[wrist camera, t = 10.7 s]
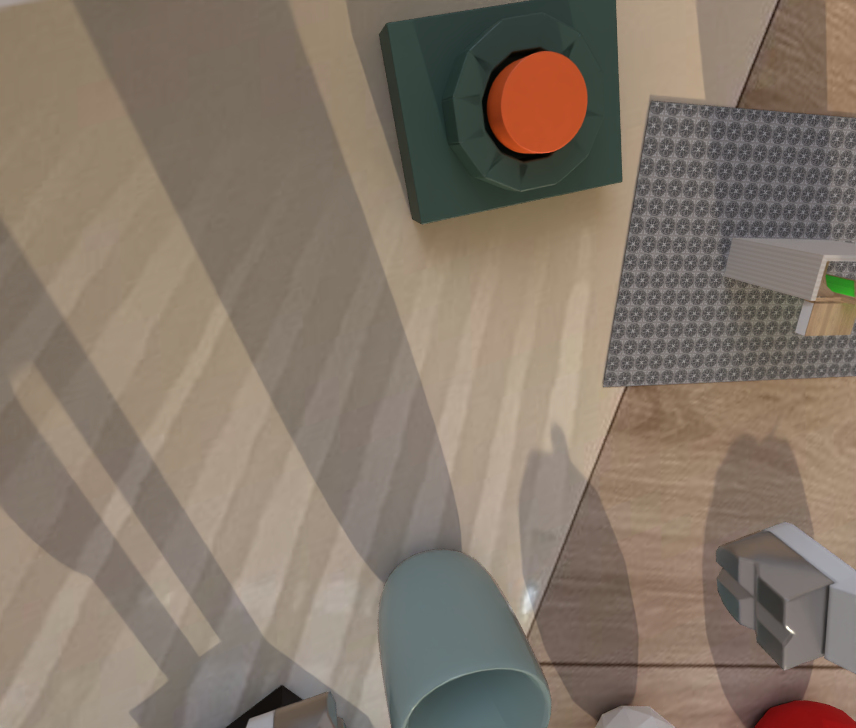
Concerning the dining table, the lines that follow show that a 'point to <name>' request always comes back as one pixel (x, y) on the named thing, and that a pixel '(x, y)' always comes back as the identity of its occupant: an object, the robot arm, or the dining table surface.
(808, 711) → the tomato
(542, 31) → the dimmer block
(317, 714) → the robot arm
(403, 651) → the cup
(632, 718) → the ornament
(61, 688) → the dining table surface
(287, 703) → the lever base
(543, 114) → the button
